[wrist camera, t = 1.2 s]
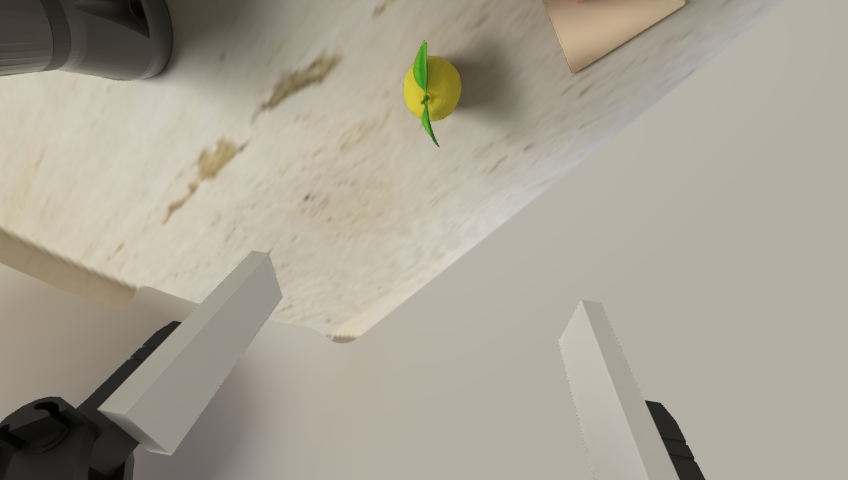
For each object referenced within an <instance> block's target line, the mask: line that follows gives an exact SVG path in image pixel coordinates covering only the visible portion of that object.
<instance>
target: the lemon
mask: <svg viewBox="0 0 848 480" xmlns="http://www.w3.org/2000/svg"><path fill="white" fill-rule="evenodd" d="M461 87H462V84H461V80H460V75H459V73H458V72H457V70H456V68H455V67H454V66H453V65H452V64H451V63H450V62H449V61H448V60H445V59H443V58H441V57H435V56H428V57H427V43H426V42H425V40H424V41H423V43H422V45H421V47H420V50H419V52H418V54H417V57H416V60H415V63H414V64H413V65H412V67H411V68H410V70H409V71H408V73H407V75H406V78H405V82H404V98H405V101H406V105H407V106H408V108H409V109H410V111H411V112H412V113H413V114H414V115H415V116H417V117H418V118H420V119H422V123H423V125H424V127H425V129H426V131H427V132H428V133H429V135H430V136H431V137H432V139H433V141H434V142H435V144H436V145H437V146H438V147H439V145H438V143H437V141H436V139H435V137H434V134H433V131H432V128H431V124H430V121H437V120H441V119H444V118H445V117H447V116H448V115H450V114H451V113H452V111H453V110H454V109H455V107H456V106H457V103H458V101H459V98H460V95H461Z"/></svg>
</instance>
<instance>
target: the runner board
mask: <svg viewBox="0 0 848 480" xmlns="http://www.w3.org/2000/svg"><path fill="white" fill-rule="evenodd" d="M543 2H544V5H545V7H546V10H547V12H548V15H549V17H550V20H551V22H552V25H553V27H554V30H555V32H556V35H557V37H558V40H559V42H560V45H561V47H562V50H563V52H564V55H565V57H566V60H567V62H568V65H569V67H570V70H571V72H572V73H573V74H575V73H576V72H578V71H580V70H581V69H583V68H584V67H586V66H587V65H589V64H591V63H592V62H594V61H595V60H597V59H599V58H600V57H602V56H603V55H605V54H607V53H608V52H610V51H611V50H613V49H615V48H616V47H618V46H619V45H621V44H623V43H624V42H626V41H627V40H629V39H631V38H632V37H634V36H635V35H637V34H639V33H640V32H642V31H643V30H645V29H646V28H648V27H650V26H651V25H653V24H654V23H656V22H658V21H659V20H661V19H662V18H664V17H666V16H667V15H669V14H670V13H672V12H674V11H675V10H677V9H678V8H680V7H682V6H683V5H685V1H684V0H583V1H579V2H575V1H574V0H543Z"/></svg>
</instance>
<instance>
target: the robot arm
mask: <svg viewBox="0 0 848 480" xmlns="http://www.w3.org/2000/svg"><path fill="white" fill-rule="evenodd" d="M171 48H172V30H171V24H170V19H169V14H168V11H167V8H166V5H165V2H164V0H0V76H8V75H16V74H24V73H32V72H40V71H49V70H62V71H67V72H74V73H80V74H86V75H92V76H99V77H103V78H107V79H112V80H117V81H131V80H138V79H144V78H149V77H152V76H155V75H156V74H158V73H159V72H161V71H162V70H163V68H164V67H165V66H166V64H167V62H168V60H169V57H170V54H171ZM281 299H282V294H281V291H280V288H279V284H278V281H277V278H276V274H275V271H274V268H273V265H272V261H271V258H270V255H269V253H263V252H256V251H252V252H251V253H250V254H249V255H248V256H247V257H246V258H245V259H244V260H243V261H242V262H241V263H240V264H239V265H238V266H237V267H236V268H235V269H234V270H233V271H232V272H231V273H230V274H229V275H228V276H227V277H226V278H225V279H224V280H223V281H222V282H221V283H220V284H219V285H218V286H217V287H216V288H215V289H214V290H213V292H212V293H211V294H210V295H209V296H208V297H207V298H206V299H205V300H204V301H203V302H202V303H201V304H200V305H199V306H198V307H197V308H196V309H195V310H194V311H193V312H192V313H191V314H190V315H189V316H188V317H187V318H186V319H185V320H184V321H183V322H177V321H173V322H171V323H170V324H168V325H167V326H165V327H163V328H162V329H160V330H159V331H157V332H156V333H155V334H154V335H153V336H152V337H151V338H150V339H148V340H147V341H146V342H145V343H144V344H143V346H142V348H139V349H138V350H137V351H136V352H135V353H134V354H133V355H132V356H131V358H130V359H129V360H127V361H126V362H125V363H124V364H123V365H122V366H121V367H120V368H118V369H117V370H116V371H115V373H113V374H112V375H111V376H110V377H109V378H108V379H107V380H106V381H105V382H104V383H103V384H102V385H101V386H100V387H99V388H98V389H97V390H96V391H95V392H94V393H93V394H92V395H91V396H90V397H89V398H88V399H87V400H85V401H84V402H83V403H82V404H81V405H80V406H79V407H78V408H76V409H75V408H74V407H73V406H71V405H70V404H69V403H67V402H66V401H65V400H63V399H62V398H61V397H46V398H42V399H38V400H35V401H33V402H31V403H29V404H27V405H24V406H22V407H21V408H19V409H18V410H16V411H15V412H14V413H12V414H10V415H9V416H7V417H6V418H5V419H4V420H3V421H2V422H1V423H0V480H132V479H133V469H134V454H133V450H134V449H135V448H136V446H137V445H138V444H141V445H142V446H143V447H144V448H146V449H147V450H148V451H152V452H157V453H162V454H166V455H172V454H173V452H174V451H175V450H176V448H177V447H178V445H179V444H180V442H181V441H182V439H183V438H184V437H185V435H186V434H187V432H188V431H189V430H190V428H191V427H192V425H193V424H194V423H195V421H196V420H197V418H198V417H199V415H200V414H201V412H202V411H203V410H204V408H205V407H206V405H207V404H208V403H209V401H210V400H211V398H212V397H213V395H214V394H215V393H216V391H217V390H218V388H219V387H220V386H221V384H222V382H223V381H224V380H225V378H226V377H227V375H228V374H229V373H230V371H231V370H232V369H233V367H234V366H235V364H236V363H237V361H238V360H239V359H240V357H241V356H242V354H243V353H244V351H245V350H246V349H247V347H248V346H249V344H250V343H251V342H252V340H253V339H254V337H255V336H256V334H257V333H258V332H259V330H260V329H261V327H262V326H263V324H264V323H265V322H266V320H267V319H268V317H269V316H270V315H271V313H272V312H273V310H274V309H275V307H276V306H277V305H278V303H279V302H280V300H281ZM558 342H559V346H560V350H561V354H562V358H563V361H564V365H565V369H566V373H567V377H568V381H569V385H570V389H571V393H572V397H573V400H574V404H575V408H576V412H577V416H578V420H579V424H580V427H581V432H582V436H583V439H584V443H585V447H586V451H587V455H588V459H589V463H590V467H591V471H592V474H593V478H594V480H705V478H704V476H703V474H702V472H701V470H700V468H699V466H698V465H697V463H696V462H695V461H694V456H693V454H692V452H691V450H690V448H689V446H688V445H686V440H685V438H684V436H683V434H682V432H681V430H680V428H679V426H678V424H677V422H676V421H675V420H674V418H673V417H672V416H671V415H670V413H669V412H668V411H667V410H666V409H665V407H663V405H662V404H661V403H658V402H652V401H646V400H644V399H643V396H642V394H641V392H640V389H639V387H638V385H637V382H636V380H635V378H634V376H633V373H632V371H631V369H630V367H629V365H628V362H627V360H626V358H625V356H624V353H623V351H622V349H621V346H620V344H619V342H618V340H617V337H616V335H615V333H614V331H613V328H612V326H611V324H610V322H609V320H608V317H607V315H606V313H605V310H604V308H603V306H602V304H601V303H599V302H592V301H586V300H581V302H580V303H579V305H578V307H577V309H576V311H575V313H574V314H573V316H572V318H571V320H570V321H569V323H568V325H567V327H566V329H565V330H564V332H563V334H562V336H561V338H560V340H559V341H558Z"/></svg>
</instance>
